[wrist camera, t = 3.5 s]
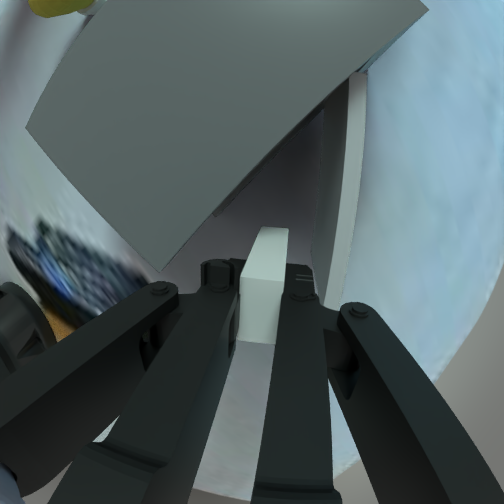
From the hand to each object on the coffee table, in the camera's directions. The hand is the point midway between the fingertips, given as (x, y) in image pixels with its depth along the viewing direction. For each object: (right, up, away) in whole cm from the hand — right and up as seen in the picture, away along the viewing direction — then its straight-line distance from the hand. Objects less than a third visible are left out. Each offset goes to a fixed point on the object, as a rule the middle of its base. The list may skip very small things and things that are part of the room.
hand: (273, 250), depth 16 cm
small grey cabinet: (-2, +14, +4) cm, 14 cm away
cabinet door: (+5, +5, +5) cm, 8 cm away
